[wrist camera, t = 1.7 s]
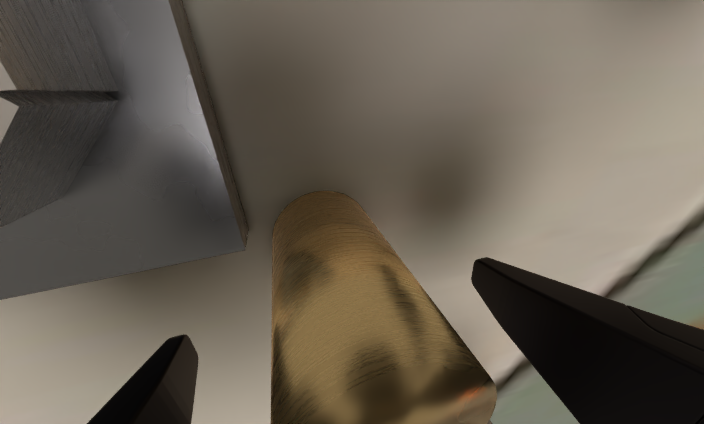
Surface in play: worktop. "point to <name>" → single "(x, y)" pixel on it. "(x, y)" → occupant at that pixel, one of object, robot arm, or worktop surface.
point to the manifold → (107, 145)
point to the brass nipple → (361, 329)
